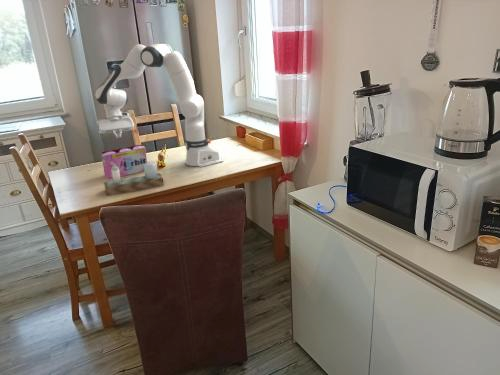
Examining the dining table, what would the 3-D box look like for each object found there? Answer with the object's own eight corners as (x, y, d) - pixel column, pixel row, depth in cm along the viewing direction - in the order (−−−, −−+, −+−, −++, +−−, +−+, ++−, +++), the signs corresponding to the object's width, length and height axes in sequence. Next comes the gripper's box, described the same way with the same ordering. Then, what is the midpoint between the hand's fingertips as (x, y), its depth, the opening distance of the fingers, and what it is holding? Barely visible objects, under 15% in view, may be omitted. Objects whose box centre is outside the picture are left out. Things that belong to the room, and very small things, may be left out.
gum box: (146, 166, 232) (142, 143, 227) (150, 169, 226) (147, 146, 221) (104, 175, 220) (100, 151, 215) (108, 179, 214) (104, 155, 209)
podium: (160, 180, 210) (159, 172, 209) (164, 185, 203) (163, 177, 202) (105, 189, 200) (103, 182, 198) (106, 195, 193) (105, 187, 192)
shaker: (120, 180, 199) (117, 164, 196) (121, 183, 196) (118, 166, 193) (113, 181, 198) (110, 165, 195) (113, 184, 195) (111, 167, 192)
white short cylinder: (156, 173, 207) (155, 161, 205) (159, 177, 202) (157, 164, 199) (144, 175, 205) (142, 163, 202) (146, 179, 199) (144, 166, 197)
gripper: (95, 116, 232) (100, 136, 227) (131, 112, 239) (136, 132, 235) (96, 122, 237) (100, 142, 233) (131, 118, 245) (136, 137, 241)
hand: (118, 137), depth 234 cm, fingers closed
